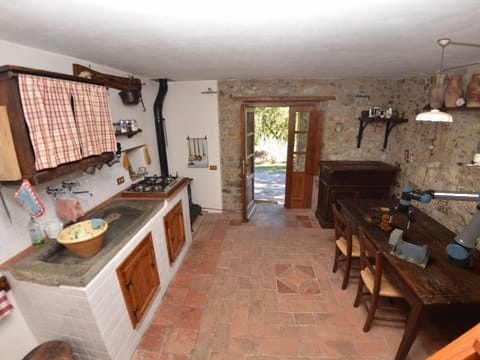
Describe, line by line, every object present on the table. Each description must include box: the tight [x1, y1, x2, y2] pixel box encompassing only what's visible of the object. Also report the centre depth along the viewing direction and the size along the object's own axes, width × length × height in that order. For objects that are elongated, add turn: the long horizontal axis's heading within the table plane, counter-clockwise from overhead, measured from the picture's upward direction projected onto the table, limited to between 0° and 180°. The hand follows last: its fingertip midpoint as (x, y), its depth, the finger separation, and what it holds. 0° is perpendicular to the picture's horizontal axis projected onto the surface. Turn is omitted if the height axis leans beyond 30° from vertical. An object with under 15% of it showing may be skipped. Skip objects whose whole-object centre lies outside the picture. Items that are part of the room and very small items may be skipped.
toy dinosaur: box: [379, 213, 394, 232], centre depth 216 cm, size 11×11×18 cm
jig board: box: [389, 243, 430, 269], centre depth 177 cm, size 23×16×6 cm
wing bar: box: [388, 228, 404, 246], centre depth 197 cm, size 6×14×10 cm, turn 131°
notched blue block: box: [397, 238, 428, 262], centre depth 176 cm, size 18×7×13 cm, turn 49°
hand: (398, 225), depth 193 cm, fingers open, 13 cm apart
